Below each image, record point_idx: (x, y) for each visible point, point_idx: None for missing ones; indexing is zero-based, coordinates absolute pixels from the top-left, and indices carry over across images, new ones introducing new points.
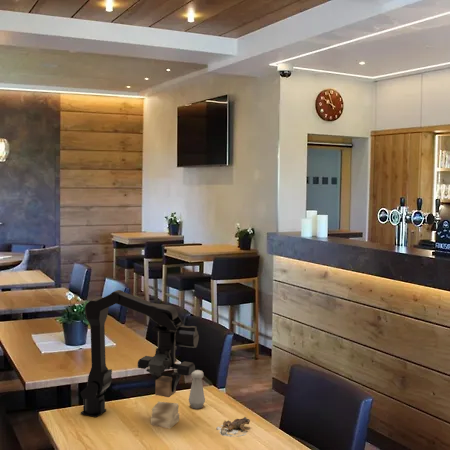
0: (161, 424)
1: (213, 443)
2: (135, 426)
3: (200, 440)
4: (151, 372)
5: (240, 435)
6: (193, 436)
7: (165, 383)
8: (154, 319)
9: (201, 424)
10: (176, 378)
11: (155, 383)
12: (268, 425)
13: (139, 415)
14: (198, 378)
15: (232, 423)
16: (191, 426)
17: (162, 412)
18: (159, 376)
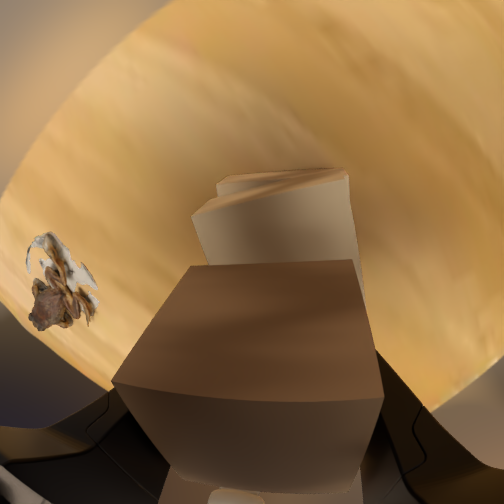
0: (275, 173)
1: (35, 161)
2: (400, 113)
3: (67, 152)
4: (499, 500)
5: (28, 256)
6: (100, 164)
7: (177, 369)
8: None
9: (144, 281)
10: (45, 428)
11: (396, 379)
12: (40, 337)
13: (442, 244)
14: (217, 491)
15: (50, 296)
16: (161, 246)
17: (263, 193)
18: (369, 478)
